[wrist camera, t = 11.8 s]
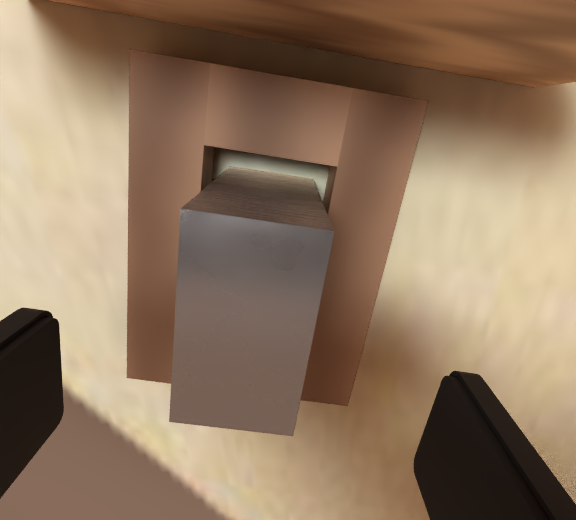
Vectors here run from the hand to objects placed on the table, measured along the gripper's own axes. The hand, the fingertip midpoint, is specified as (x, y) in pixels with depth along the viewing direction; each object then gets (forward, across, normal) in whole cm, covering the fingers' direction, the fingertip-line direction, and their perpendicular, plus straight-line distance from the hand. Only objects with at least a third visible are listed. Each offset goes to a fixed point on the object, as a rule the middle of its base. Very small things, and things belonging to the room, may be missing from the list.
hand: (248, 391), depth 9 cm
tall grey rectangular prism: (+11, +1, 0) cm, 11 cm away
